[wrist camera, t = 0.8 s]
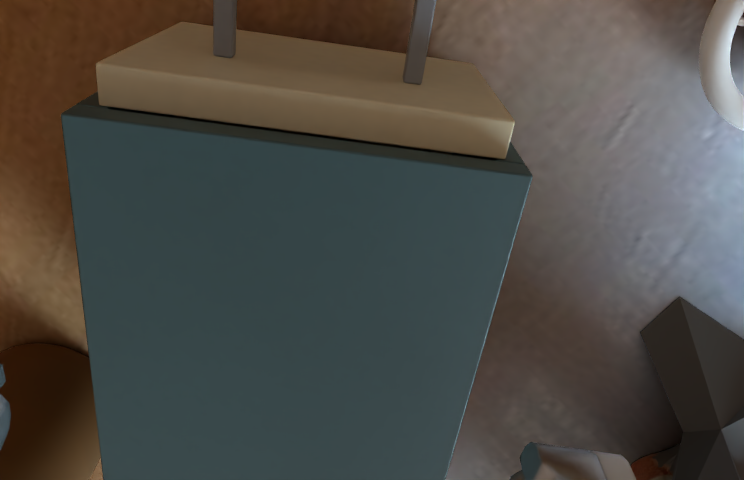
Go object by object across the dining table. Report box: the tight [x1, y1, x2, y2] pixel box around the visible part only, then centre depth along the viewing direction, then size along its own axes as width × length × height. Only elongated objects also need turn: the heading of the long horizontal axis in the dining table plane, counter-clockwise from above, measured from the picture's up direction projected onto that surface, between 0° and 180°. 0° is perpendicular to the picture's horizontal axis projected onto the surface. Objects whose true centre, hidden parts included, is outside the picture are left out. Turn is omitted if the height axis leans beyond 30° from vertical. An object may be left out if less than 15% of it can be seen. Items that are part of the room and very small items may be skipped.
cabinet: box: [61, 91, 533, 480], centre depth 24 cm, size 16×13×10 cm
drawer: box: [96, 0, 515, 159], centre depth 22 cm, size 19×12×8 cm, turn 172°
